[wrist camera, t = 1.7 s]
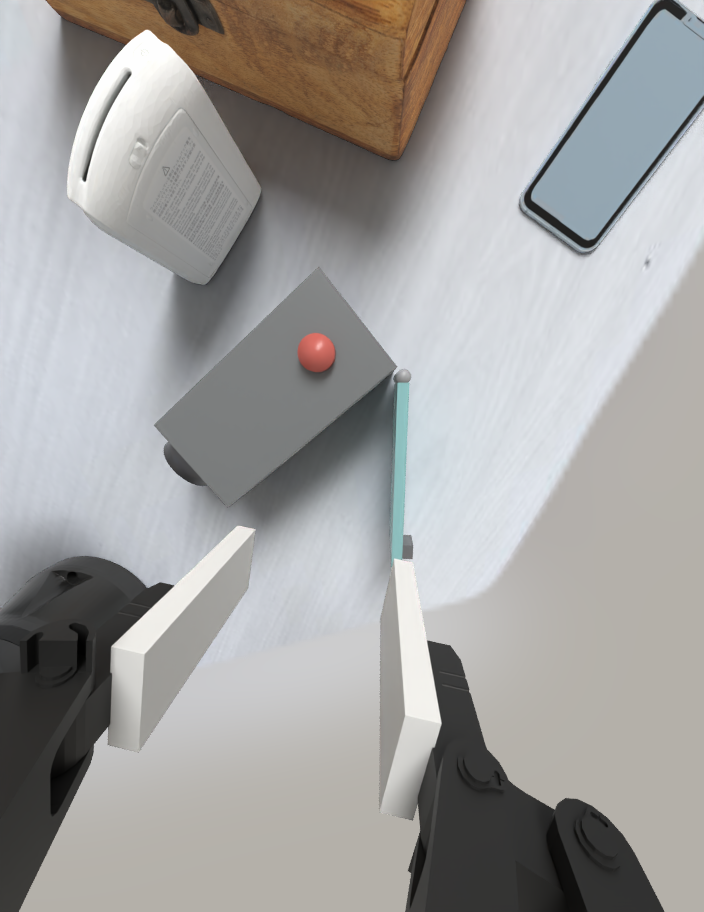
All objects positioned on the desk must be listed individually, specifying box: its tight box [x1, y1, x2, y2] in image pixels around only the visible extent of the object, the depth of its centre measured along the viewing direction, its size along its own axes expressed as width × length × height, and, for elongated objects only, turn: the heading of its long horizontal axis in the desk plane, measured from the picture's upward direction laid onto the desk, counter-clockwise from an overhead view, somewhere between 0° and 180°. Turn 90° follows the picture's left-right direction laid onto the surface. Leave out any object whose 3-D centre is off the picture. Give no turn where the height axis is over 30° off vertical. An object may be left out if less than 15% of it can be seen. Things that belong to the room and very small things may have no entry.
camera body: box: [154, 267, 397, 508], centre depth 27 cm, size 19×8×9 cm, turn 130°
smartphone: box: [520, 0, 704, 253], centre depth 25 cm, size 7×1×15 cm
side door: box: [390, 369, 413, 567], centre depth 28 cm, size 15×2×6 cm, turn 0°
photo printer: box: [67, 30, 261, 285], centre depth 23 cm, size 10×4×12 cm, turn 143°
